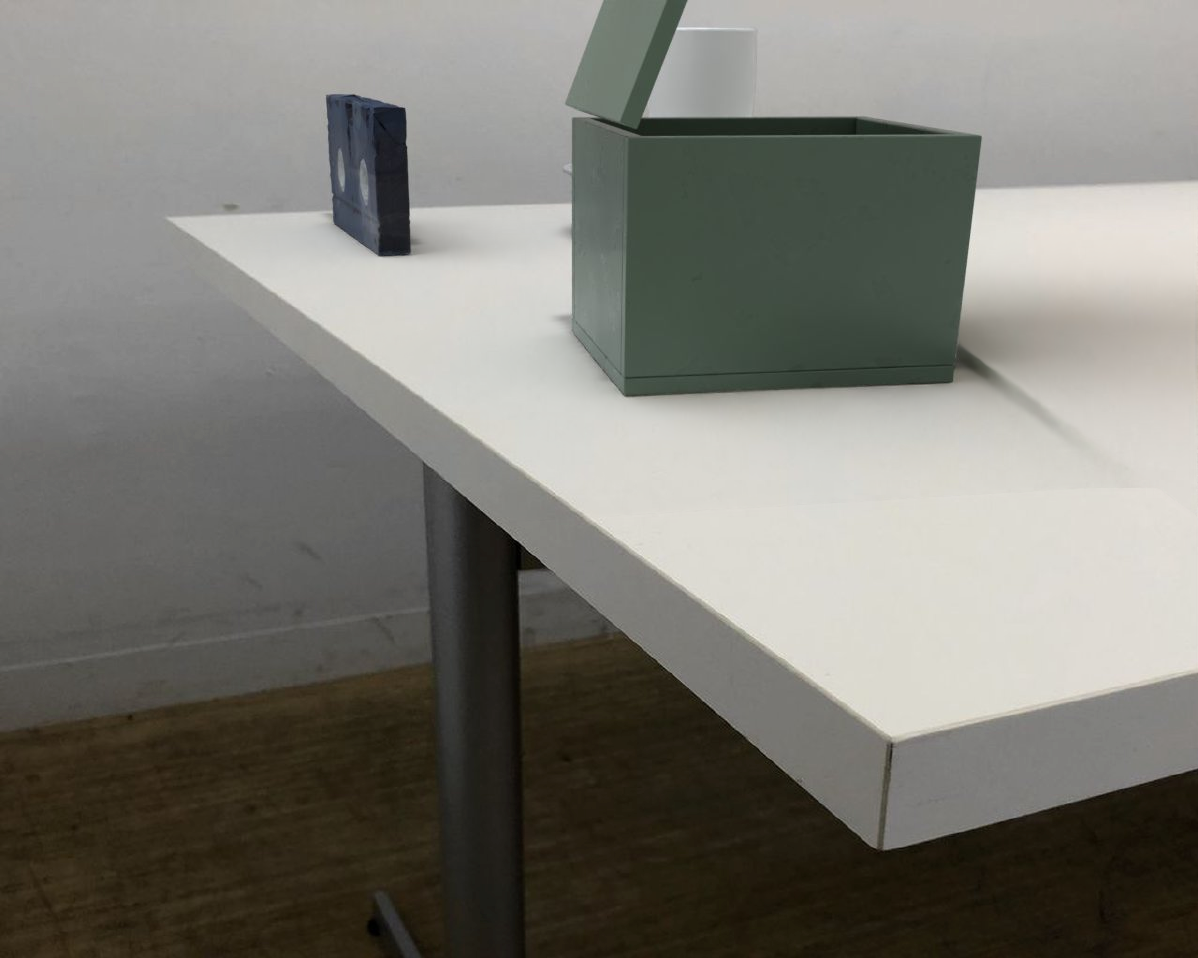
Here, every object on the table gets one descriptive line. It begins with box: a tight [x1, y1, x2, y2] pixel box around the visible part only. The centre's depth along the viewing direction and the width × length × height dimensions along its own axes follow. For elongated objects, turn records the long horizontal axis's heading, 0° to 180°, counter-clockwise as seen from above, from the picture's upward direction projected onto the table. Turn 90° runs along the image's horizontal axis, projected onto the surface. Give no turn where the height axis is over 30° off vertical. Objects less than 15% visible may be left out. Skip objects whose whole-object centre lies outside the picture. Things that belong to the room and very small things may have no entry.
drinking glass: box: [647, 26, 758, 117], centre depth 83 cm, size 7×7×15 cm
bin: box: [571, 115, 983, 397], centre depth 63 cm, size 16×14×11 cm
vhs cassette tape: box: [325, 93, 412, 256], centre depth 99 cm, size 18×3×10 cm, turn 19°
